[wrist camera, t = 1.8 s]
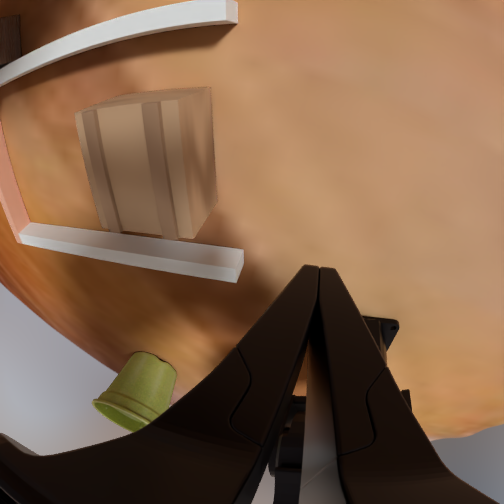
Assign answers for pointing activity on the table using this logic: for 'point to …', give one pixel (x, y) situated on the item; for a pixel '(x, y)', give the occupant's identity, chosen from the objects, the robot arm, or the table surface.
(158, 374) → the plant pot
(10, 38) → the winch
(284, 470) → the robot arm
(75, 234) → the bay
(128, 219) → the crate
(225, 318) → the table surface
